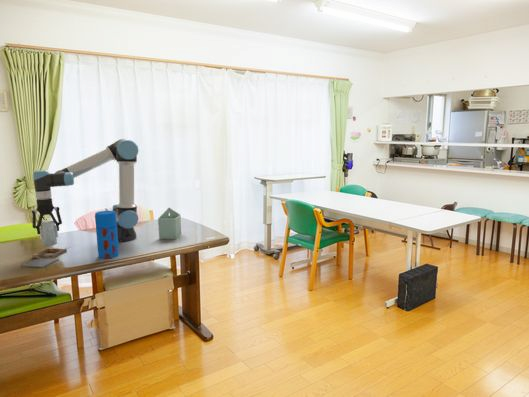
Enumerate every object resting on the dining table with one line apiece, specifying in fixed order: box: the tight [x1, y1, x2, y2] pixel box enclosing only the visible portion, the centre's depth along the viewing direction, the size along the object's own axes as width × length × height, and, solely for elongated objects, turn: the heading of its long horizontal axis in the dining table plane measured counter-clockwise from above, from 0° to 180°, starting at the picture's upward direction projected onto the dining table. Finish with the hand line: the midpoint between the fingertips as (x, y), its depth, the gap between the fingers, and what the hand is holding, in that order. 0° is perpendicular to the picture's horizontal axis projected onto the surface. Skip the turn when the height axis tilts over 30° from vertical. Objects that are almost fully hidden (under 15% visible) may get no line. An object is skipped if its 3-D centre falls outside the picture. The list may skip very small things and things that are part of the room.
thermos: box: [94, 210, 120, 260], centre depth 210 cm, size 11×11×25 cm
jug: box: [40, 220, 58, 247], centre depth 210 cm, size 13×7×13 cm, turn 40°
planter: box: [157, 207, 182, 240], centre depth 246 cm, size 16×8×20 cm, turn 133°
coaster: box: [21, 258, 59, 268], centre depth 200 cm, size 12×12×1 cm
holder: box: [31, 247, 68, 259], centre depth 213 cm, size 12×12×2 cm
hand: (49, 238), depth 212 cm, fingers closed on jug, 7 cm apart
